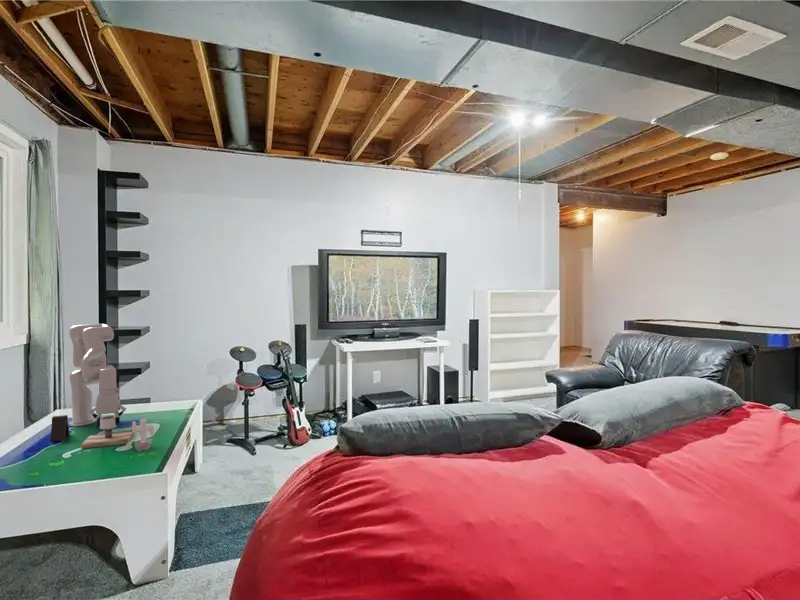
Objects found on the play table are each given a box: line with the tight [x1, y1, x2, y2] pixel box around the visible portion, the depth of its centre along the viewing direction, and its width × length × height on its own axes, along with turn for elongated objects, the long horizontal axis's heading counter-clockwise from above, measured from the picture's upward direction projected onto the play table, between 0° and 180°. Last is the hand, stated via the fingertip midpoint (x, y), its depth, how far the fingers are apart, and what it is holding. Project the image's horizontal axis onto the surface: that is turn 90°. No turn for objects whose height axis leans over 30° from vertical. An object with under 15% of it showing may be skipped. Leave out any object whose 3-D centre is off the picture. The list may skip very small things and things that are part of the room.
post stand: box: [80, 428, 135, 449], centre depth 224 cm, size 14×20×9 cm
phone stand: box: [49, 414, 71, 442], centre depth 228 cm, size 9×6×12 cm, turn 21°
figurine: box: [131, 418, 155, 452], centre depth 213 cm, size 7×9×15 cm
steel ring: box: [99, 414, 118, 430], centre depth 224 cm, size 7×7×5 cm
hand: (108, 425), depth 224 cm, fingers closed on steel ring, 7 cm apart
